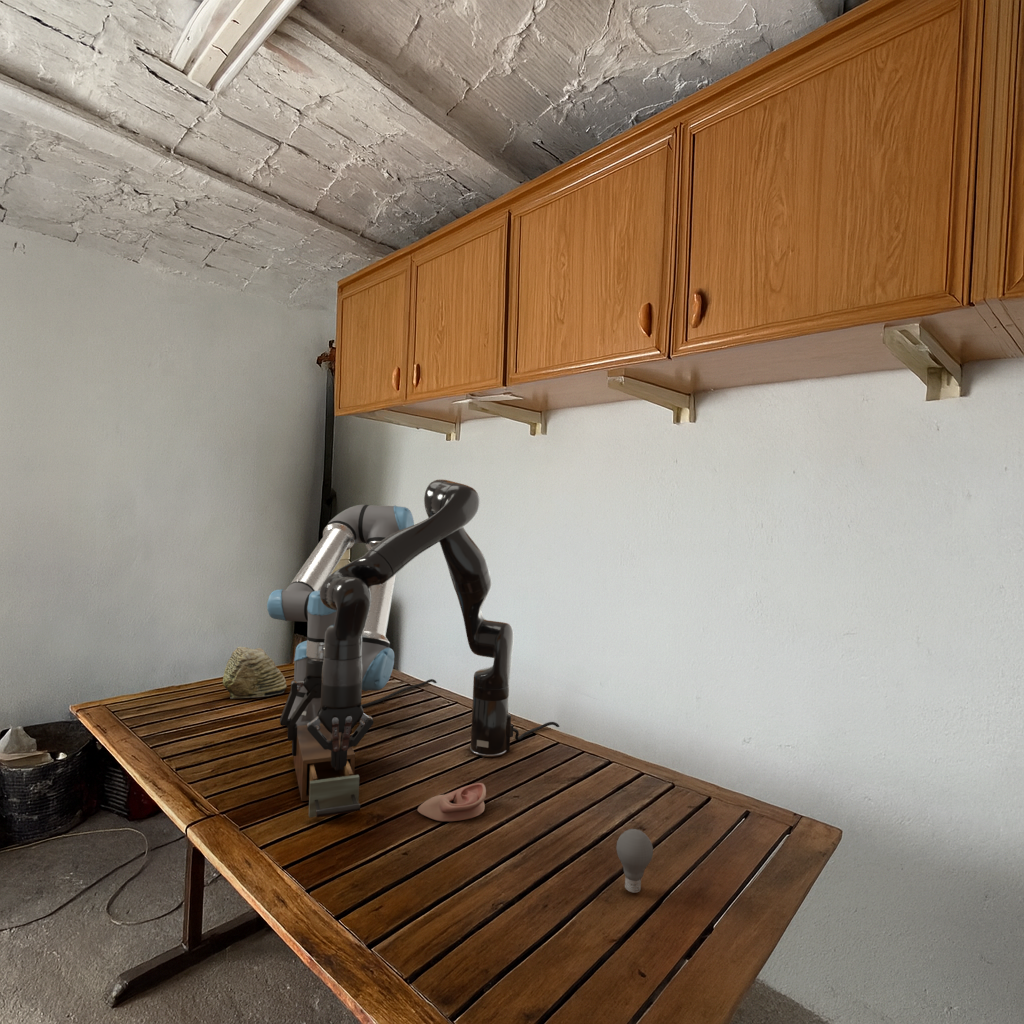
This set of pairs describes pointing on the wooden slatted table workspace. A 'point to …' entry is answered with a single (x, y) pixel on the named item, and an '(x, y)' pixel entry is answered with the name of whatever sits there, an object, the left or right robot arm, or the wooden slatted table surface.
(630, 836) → the light bulb
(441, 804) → the anatomical model
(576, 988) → the wooden slatted table surface
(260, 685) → the fossil
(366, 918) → the wooden slatted table surface
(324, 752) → the cabinet
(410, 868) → the wooden slatted table surface
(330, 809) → the drawer
